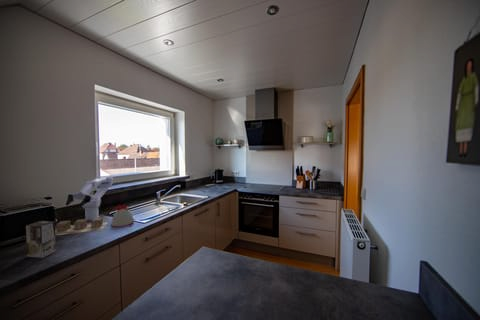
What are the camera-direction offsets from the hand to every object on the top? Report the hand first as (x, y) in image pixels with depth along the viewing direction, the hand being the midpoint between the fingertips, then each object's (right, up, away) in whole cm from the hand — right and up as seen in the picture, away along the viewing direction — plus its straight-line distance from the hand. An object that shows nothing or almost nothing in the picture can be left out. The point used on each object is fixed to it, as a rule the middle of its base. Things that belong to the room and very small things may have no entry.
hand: (73, 204), depth 118 cm
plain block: (-7, -17, 0) cm, 18 cm away
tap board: (+1, -18, +4) cm, 18 cm away
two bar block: (+10, -17, +7) cm, 21 cm away
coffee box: (+7, -19, -25) cm, 33 cm away
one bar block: (+1, -17, +4) cm, 17 cm away
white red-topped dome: (+23, -18, +14) cm, 33 cm away
